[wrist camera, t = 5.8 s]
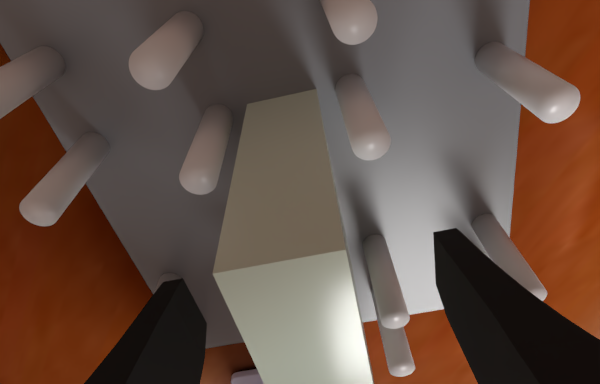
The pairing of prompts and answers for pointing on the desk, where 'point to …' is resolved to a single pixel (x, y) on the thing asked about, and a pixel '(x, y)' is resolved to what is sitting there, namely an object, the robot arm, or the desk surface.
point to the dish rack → (275, 83)
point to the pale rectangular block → (290, 251)
